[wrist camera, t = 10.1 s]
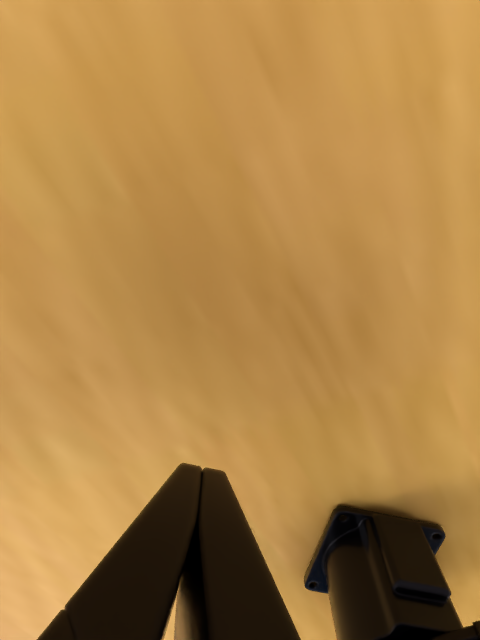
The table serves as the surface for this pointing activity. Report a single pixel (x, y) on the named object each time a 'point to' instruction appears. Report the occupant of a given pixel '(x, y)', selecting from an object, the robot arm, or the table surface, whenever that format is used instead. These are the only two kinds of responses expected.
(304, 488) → the table surface
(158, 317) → the table surface
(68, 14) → the table surface
